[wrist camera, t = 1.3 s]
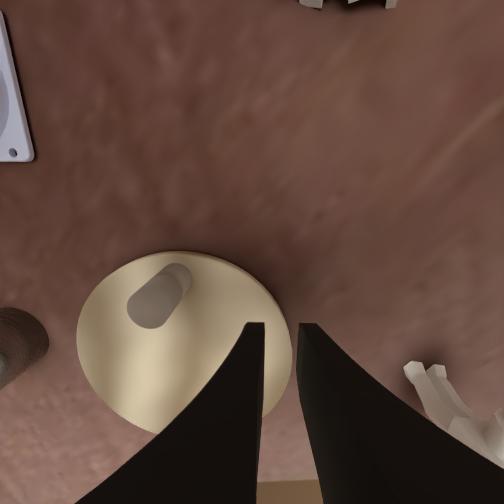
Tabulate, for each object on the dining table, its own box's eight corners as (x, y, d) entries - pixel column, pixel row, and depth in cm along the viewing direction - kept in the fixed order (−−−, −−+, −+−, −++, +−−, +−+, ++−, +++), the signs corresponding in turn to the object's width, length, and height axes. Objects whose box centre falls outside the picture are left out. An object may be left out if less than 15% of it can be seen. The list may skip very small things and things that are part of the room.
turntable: (104, 424, 20) (55, 500, 15) (67, 249, 16) (-16, 277, 11) (286, 430, 19) (294, 511, 15) (295, 252, 15) (311, 283, 11)
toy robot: (385, 415, 20) (555, 731, 8) (410, 334, 18) (682, 609, 6) (432, 419, 20) (669, 744, 8) (463, 339, 18) (835, 626, 6)
